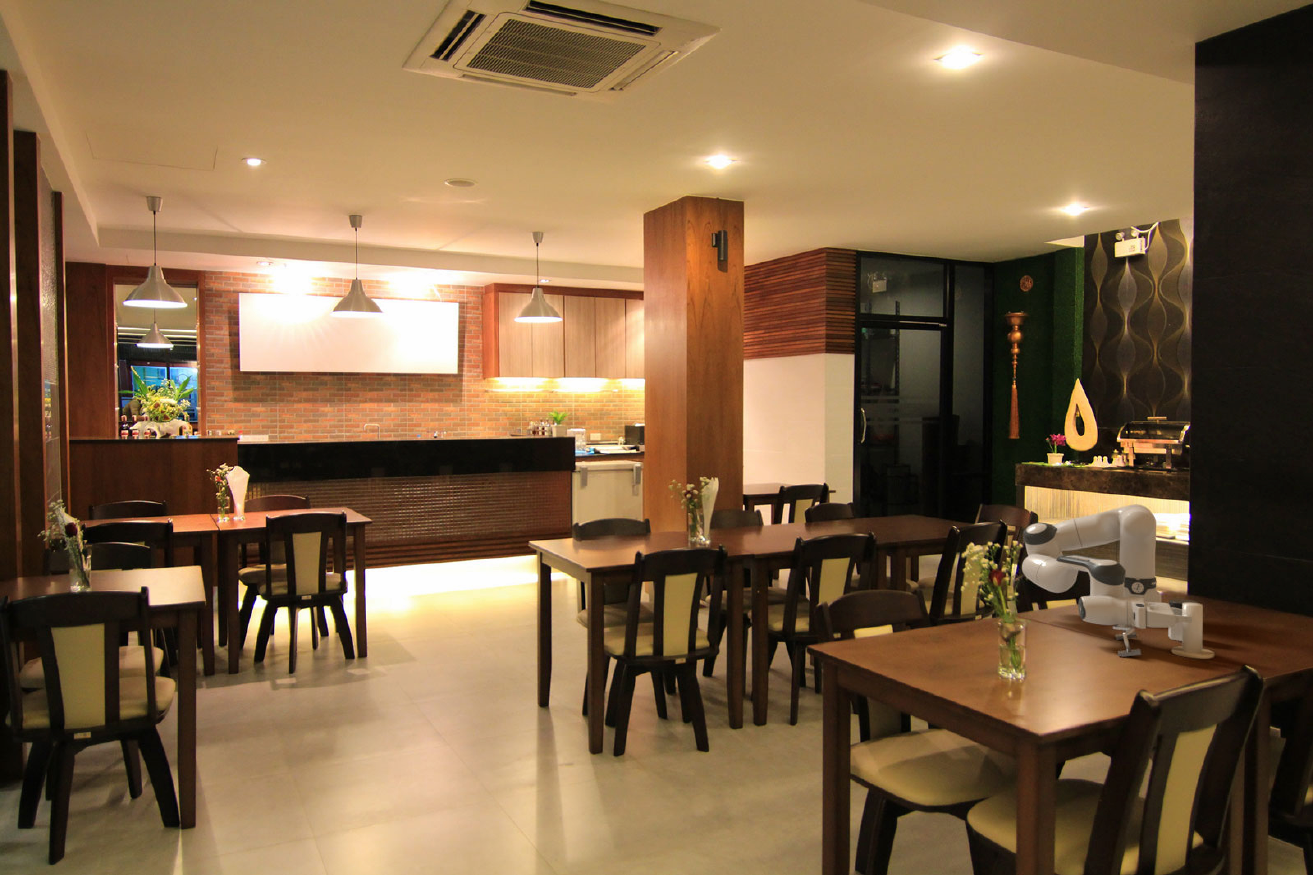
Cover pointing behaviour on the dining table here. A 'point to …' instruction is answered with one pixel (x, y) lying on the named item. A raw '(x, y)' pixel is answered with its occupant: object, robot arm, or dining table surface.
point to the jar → (1176, 631)
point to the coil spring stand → (1126, 640)
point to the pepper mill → (1192, 628)
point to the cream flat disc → (1204, 655)
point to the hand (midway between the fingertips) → (1190, 616)
